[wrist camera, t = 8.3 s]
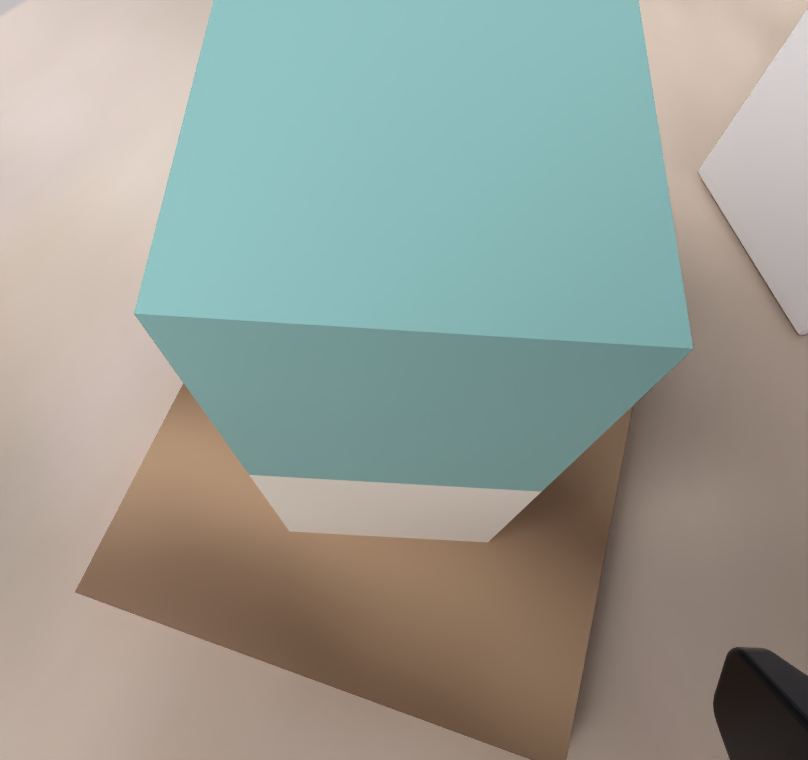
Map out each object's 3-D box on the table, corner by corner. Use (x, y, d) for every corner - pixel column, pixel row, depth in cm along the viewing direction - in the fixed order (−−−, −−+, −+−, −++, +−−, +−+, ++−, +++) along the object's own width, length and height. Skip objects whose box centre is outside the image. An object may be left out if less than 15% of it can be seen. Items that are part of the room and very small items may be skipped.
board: (546, 760, 15) (564, 771, 14) (100, 597, 16) (75, 592, 15) (629, 345, 20) (648, 322, 18) (279, 239, 21) (273, 210, 19)
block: (487, 542, 16) (693, 347, 6) (289, 531, 16) (133, 313, 5) (485, 363, 18) (635, -17, 8) (310, 352, 18) (225, -48, 7)
